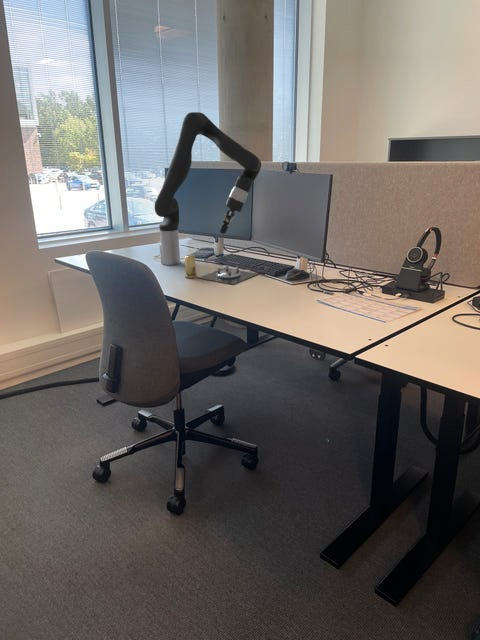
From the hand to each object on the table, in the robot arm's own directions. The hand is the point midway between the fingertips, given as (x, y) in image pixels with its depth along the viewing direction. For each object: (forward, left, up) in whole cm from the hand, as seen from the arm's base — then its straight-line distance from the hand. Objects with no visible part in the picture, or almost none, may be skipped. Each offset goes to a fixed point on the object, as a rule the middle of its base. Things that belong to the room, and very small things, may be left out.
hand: (222, 232), depth 207 cm
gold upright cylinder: (-9, -13, -19) cm, 25 cm away
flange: (+5, -3, -19) cm, 20 cm away
